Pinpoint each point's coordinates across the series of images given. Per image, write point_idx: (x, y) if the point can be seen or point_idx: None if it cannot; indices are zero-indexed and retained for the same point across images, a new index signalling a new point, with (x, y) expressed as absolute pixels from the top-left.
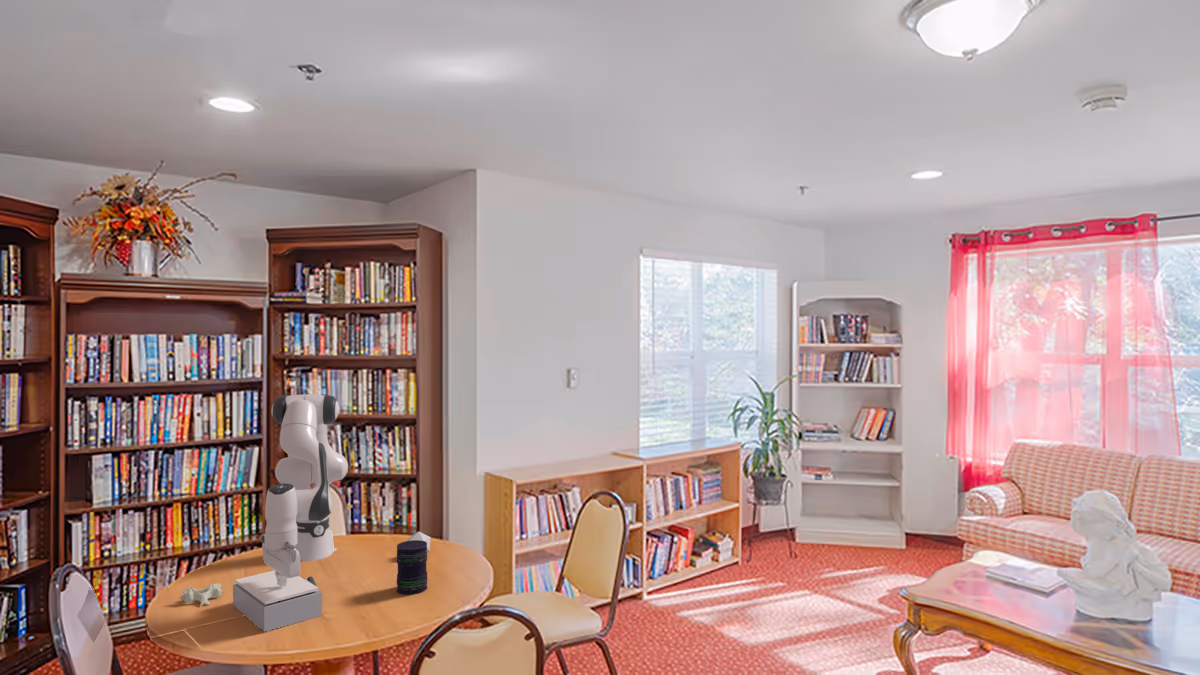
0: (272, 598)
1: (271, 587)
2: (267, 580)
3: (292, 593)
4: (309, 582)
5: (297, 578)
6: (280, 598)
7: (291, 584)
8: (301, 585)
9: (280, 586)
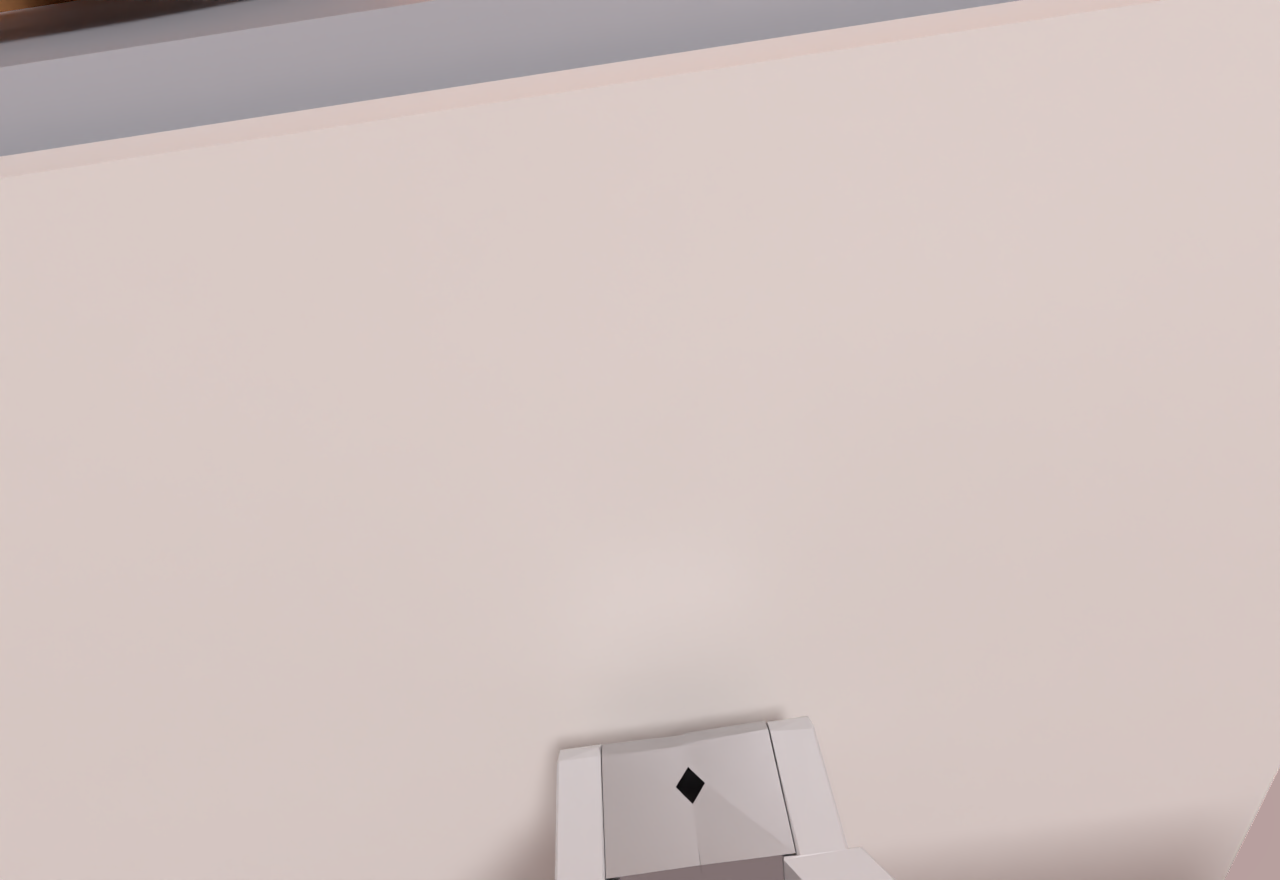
0: (1161, 862)
1: (548, 835)
2: (6, 853)
3: (1275, 617)
4: (844, 64)
5: (123, 320)
6: (1263, 776)
7: (627, 544)
8: (925, 358)
9: (610, 730)
